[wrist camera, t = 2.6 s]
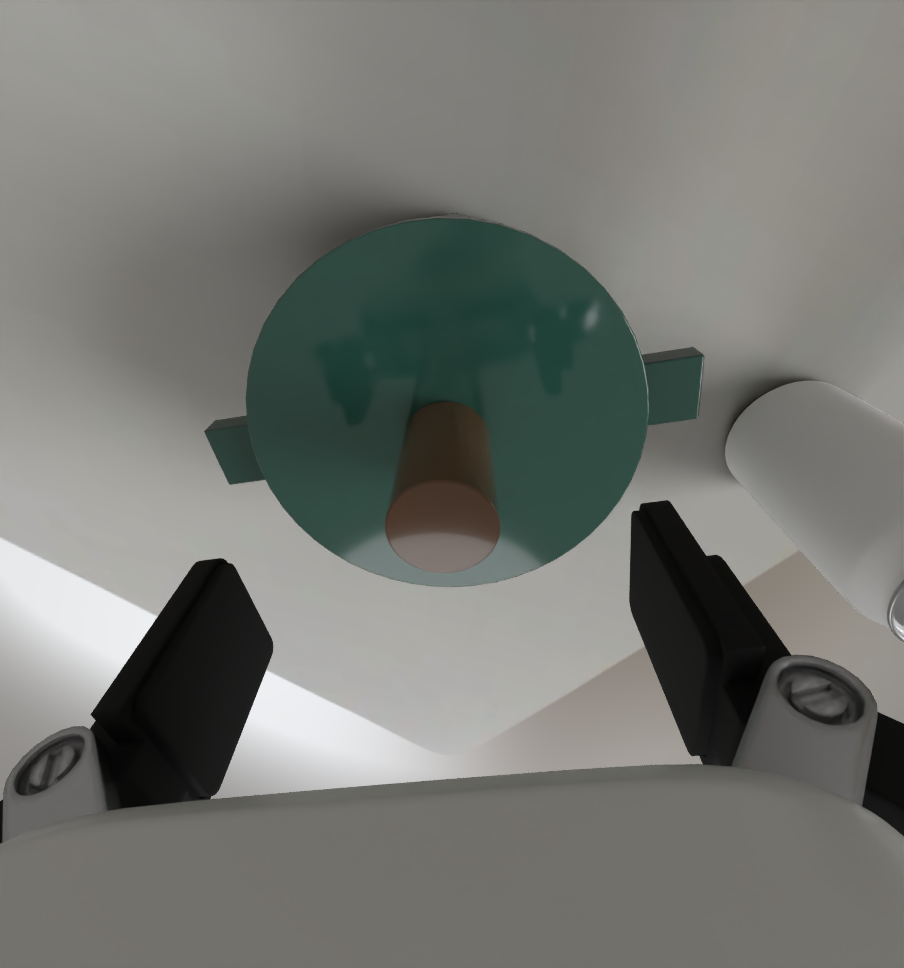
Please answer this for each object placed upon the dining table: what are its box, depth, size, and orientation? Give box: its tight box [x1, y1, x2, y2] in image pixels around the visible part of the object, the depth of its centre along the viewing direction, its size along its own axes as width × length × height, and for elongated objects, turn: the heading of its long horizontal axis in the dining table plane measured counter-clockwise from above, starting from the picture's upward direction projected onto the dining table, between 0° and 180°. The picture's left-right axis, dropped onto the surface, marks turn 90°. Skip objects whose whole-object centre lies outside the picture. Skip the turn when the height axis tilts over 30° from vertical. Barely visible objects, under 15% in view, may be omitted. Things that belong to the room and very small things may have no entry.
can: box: [725, 381, 904, 642], centre depth 22 cm, size 6×6×12 cm
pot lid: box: [246, 216, 649, 587], centre depth 15 cm, size 14×14×6 cm
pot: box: [204, 213, 704, 485], centre depth 21 cm, size 13×18×8 cm
